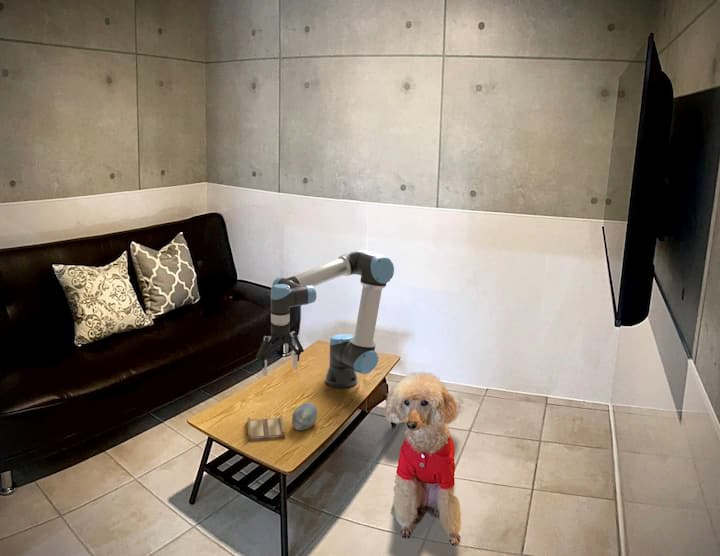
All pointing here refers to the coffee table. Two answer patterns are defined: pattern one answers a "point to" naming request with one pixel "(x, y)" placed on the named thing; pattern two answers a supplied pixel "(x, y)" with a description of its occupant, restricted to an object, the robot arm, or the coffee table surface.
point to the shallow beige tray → (265, 429)
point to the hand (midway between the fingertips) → (280, 371)
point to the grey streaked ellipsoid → (304, 416)
